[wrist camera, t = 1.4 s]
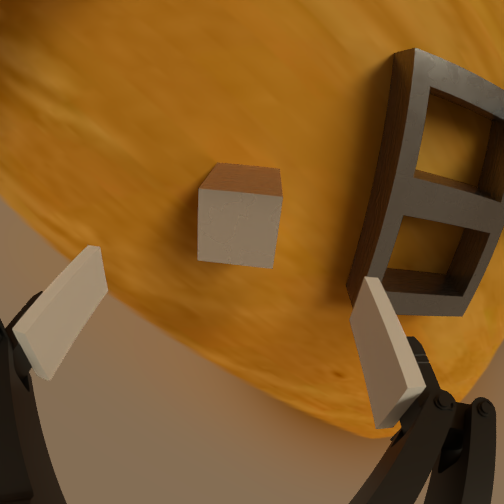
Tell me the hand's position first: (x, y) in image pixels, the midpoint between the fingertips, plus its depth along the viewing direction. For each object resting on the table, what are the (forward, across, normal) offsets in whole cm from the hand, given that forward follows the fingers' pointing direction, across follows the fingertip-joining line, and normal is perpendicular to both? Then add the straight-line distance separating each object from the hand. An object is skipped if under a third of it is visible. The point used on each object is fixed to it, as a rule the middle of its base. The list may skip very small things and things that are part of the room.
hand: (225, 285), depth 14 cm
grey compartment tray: (+12, +17, +4) cm, 21 cm away
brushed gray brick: (+12, 0, 0) cm, 12 cm away
